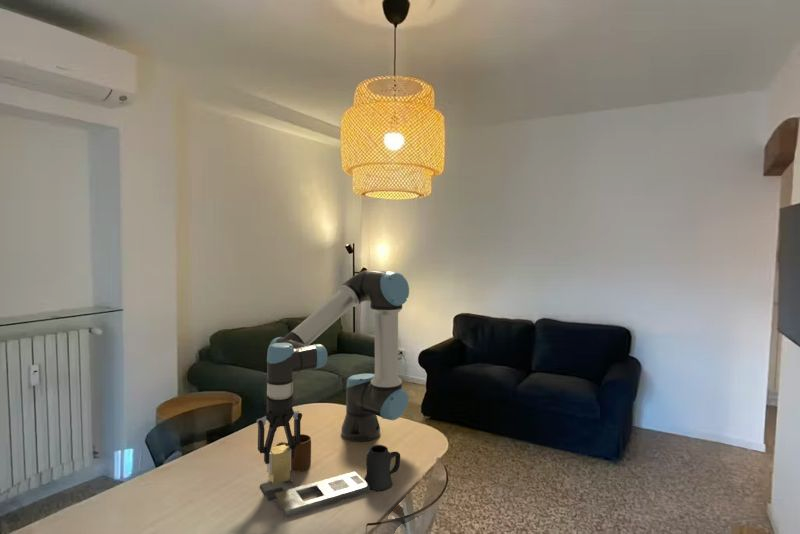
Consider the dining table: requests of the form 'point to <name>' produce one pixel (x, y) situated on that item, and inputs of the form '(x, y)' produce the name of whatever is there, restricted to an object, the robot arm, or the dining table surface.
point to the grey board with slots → (321, 493)
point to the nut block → (280, 464)
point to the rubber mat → (276, 488)
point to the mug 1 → (301, 453)
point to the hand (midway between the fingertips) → (279, 470)
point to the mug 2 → (380, 468)
